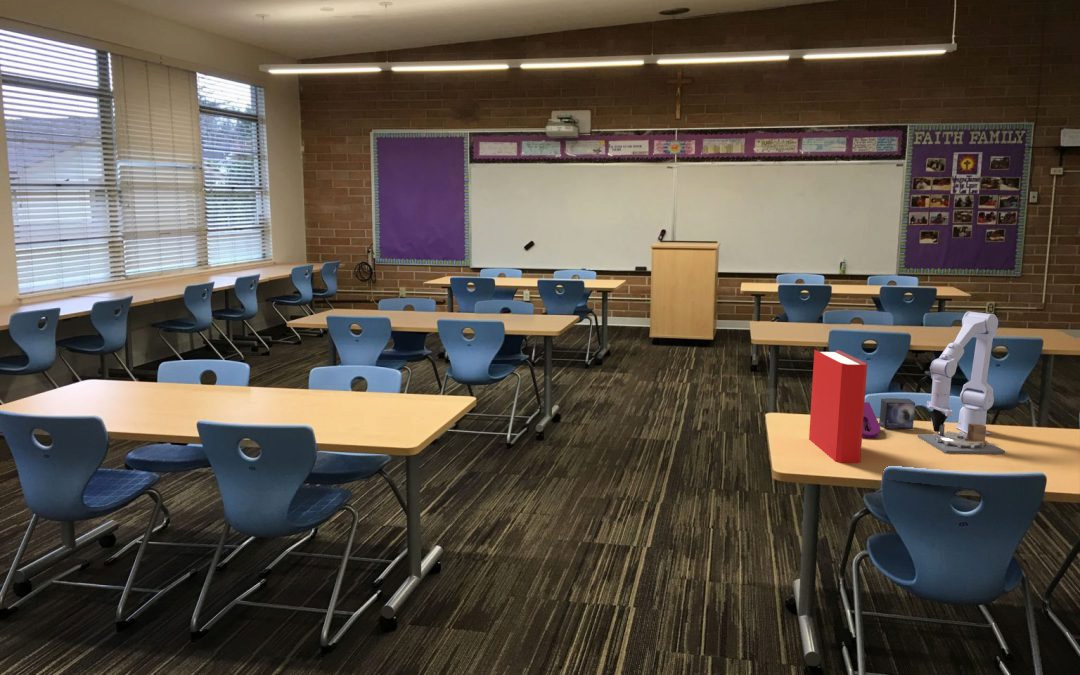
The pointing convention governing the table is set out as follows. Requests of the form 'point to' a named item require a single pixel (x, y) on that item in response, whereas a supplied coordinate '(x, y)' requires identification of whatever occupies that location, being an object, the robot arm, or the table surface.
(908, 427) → the small box
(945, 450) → the base plate
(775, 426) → the table surface
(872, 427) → the mounting bracket
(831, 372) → the book
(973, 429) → the link block
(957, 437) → the sprocket
